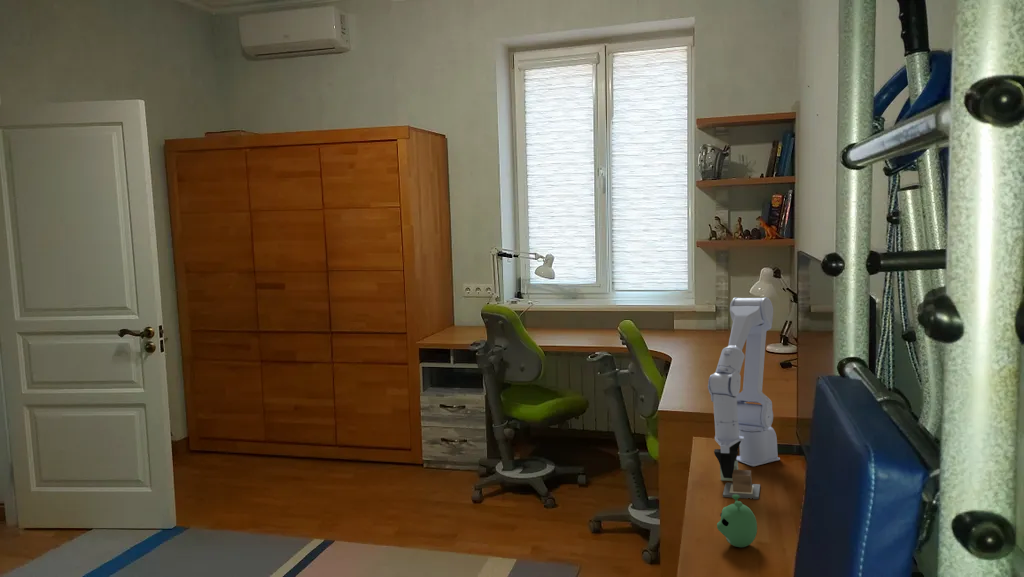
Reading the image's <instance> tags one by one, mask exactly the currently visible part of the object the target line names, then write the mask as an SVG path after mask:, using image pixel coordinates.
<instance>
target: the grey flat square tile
mask: <svg viewBox="0 0 1024 577" xmlns="http://www.w3.org/2000/svg"><path fill="white" fill-rule="evenodd" d="M760 491H761V483H752V490H751V493H749V492H733V482H725V485H724V488H723V493H722V497H723V498H732V496H733V495H739V496H740V498H739V499H748V498H750V499H751V500H759V499H760ZM752 498H753V499H752Z"/></svg>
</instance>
